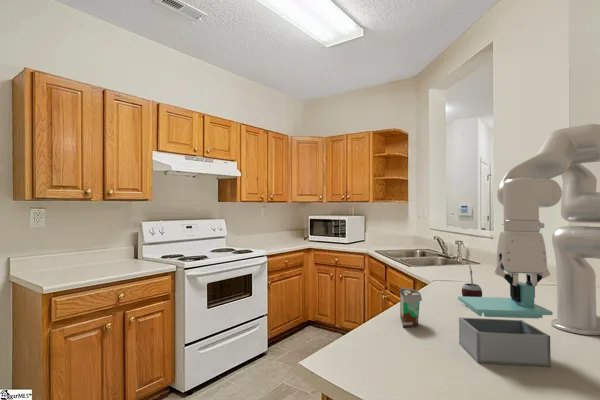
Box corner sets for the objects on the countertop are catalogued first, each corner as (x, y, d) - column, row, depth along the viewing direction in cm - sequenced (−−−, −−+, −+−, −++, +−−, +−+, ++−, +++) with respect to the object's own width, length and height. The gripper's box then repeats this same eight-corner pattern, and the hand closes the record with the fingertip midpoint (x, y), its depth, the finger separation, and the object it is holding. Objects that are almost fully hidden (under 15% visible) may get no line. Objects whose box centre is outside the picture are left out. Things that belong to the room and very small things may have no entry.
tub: (522, 346, 91) (521, 320, 91) (550, 366, 79) (550, 336, 79) (459, 343, 92) (459, 317, 93) (477, 362, 80) (477, 332, 81)
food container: (424, 330, 102) (424, 296, 103) (403, 329, 104) (403, 295, 104) (419, 318, 114) (419, 288, 115) (399, 317, 116) (400, 287, 116)
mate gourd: (473, 309, 127) (472, 268, 128) (455, 303, 134) (455, 265, 135) (487, 307, 130) (486, 267, 131) (469, 302, 137) (469, 264, 138)
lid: (522, 305, 91) (522, 279, 92) (552, 320, 79) (552, 289, 79) (458, 303, 93) (457, 277, 93) (477, 317, 81) (476, 288, 81)
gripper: (546, 226, 89) (547, 298, 89) (481, 226, 91) (482, 296, 90) (565, 228, 82) (567, 306, 81) (494, 227, 83) (495, 304, 83)
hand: (522, 300), depth 86 cm, fingers closed on lid
